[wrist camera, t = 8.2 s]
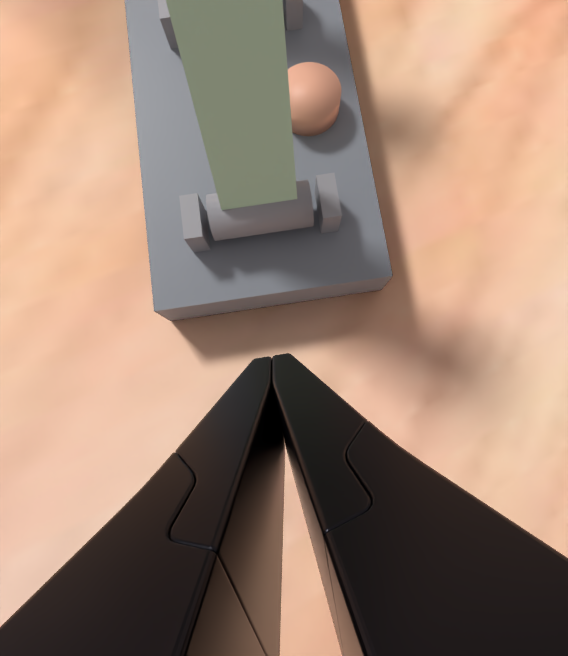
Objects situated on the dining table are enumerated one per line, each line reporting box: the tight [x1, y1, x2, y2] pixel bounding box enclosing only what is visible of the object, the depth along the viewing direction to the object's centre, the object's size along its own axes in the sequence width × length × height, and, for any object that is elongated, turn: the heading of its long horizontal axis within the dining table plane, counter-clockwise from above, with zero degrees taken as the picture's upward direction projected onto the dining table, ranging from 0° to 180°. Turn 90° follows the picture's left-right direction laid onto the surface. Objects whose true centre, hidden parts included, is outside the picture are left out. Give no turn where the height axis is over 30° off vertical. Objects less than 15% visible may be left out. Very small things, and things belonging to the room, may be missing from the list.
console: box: [125, 0, 393, 321], centre depth 21 cm, size 20×11×4 cm, turn 8°
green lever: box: [166, 0, 314, 241], centre depth 14 cm, size 2×4×12 cm, turn 97°
